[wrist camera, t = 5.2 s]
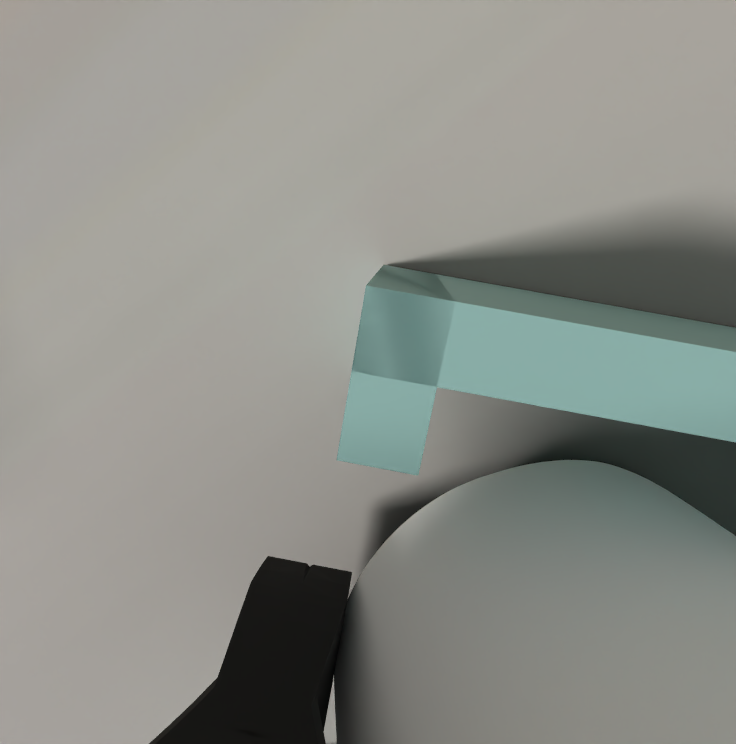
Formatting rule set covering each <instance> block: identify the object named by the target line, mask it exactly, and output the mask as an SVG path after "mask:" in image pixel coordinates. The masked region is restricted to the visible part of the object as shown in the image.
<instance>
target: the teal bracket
mask: <svg viewBox="0 0 736 744" xmlns="http://www.w3.org/2000/svg"><path fill="white" fill-rule="evenodd" d="M437 387H439V388H445V389H450V390H455V391H461V392H466V393H472V394H477V395H482V396H488V397H493V398H499V399H504V400H509V401H515V402H520V403H526V404H531V405H536V406H542V407H547V408H553V409H558V410H563V411H569V412H574V413H580V414H585V415H590V416H596V417H601V418H607V419H612V420H617V421H623V422H628V423H634V424H639V425H644V426H650V427H655V428H661V429H666V430H671V431H677V432H682V433H688V434H693V435H698V436H704V437H709V438H715V439H720V440H725V441H731V442H736V328H734V327H729V326H723V325H718V324H712V323H707V322H701V321H695V320H690V319H684V318H679V317H673V316H667V315H662V314H656V313H651V312H645V311H639V310H634V309H628V308H623V307H617V306H612V305H606V304H600V303H595V302H589V301H584V300H578V299H572V298H567V297H561V296H556V295H550V294H544V293H539V292H533V291H528V290H522V289H517V288H511V287H505V286H500V285H494V284H489V283H483V282H477V281H472V280H466V279H461V278H455V277H449V276H444V275H438V274H433V273H427V272H422V271H416V270H410V269H405V268H399V267H394V266H388V265H383V267H382V268H381V269H380V270H379V271H378V272H377V273H376V275H375V276H374V277H373V278H372V279H371V280H370V282H369V283H368V284H367V285H366V289H365V295H364V301H363V307H362V313H361V319H360V325H359V331H358V337H357V343H356V348H355V354H354V360H353V366H352V372H351V378H350V384H349V390H348V396H347V402H346V408H345V413H344V419H343V425H342V431H341V437H340V443H339V449H338V455H337V460H339V461H344V462H349V463H355V464H360V465H365V466H370V467H376V468H381V469H386V470H391V471H397V472H402V473H407V474H412V475H418V474H419V469H420V465H421V460H422V455H423V451H424V446H425V441H426V436H427V432H428V427H429V422H430V417H431V413H432V408H433V403H434V399H435V394H436V389H437Z"/></svg>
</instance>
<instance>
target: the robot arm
mask: <svg viewBox="0 0 736 744" xmlns="http://www.w3.org/2000/svg"><path fill="white" fill-rule="evenodd" d="M351 575H352V572H348V571H343V570H338V569H333V568H327V567H322V566H317V565H312V566H310V567H309V566H308V564H306V563H301V562H296V561H291V560H286V559H280V558H275V557H270V556H268V557H267V558H266V560H265V561H264V562H263V564H262V565H261V567H260V568H259V570H258V571H257V573H256V575H255V576H254V578H253V580H252V581H251V584H250V587H249V589H248V592H247V595H246V598H245V601H244V603H243V606H242V609H241V612H240V615H239V618H238V620H237V623H236V626H235V629H234V632H233V635H232V638H231V641H230V643H229V646H228V649H227V652H226V655H225V658H224V661H223V664H222V666H221V669H220V672H219V675H218V678H217V679H216V680H215V681H214V682H213V683H212V684H211V685H210V686H209V687H208V688H207V689H206V690H205V691H204V692H203V693H202V694H201V695H200V696H199V697H198V698H197V699H196V700H195V701H194V702H193V703H192V704H191V705H190V706H189V707H188V708H187V709H186V710H185V711H184V712H183V713H182V714H181V715H180V716H179V717H178V718H176V719H175V720H174V721H173V722H172V723H171V724H170V725H169V726H168V727H167V728H166V729H165V730H164V731H163V732H161V733H160V734H159V735H158V736H157V737H156V738H155V739H154V740H153V741H152V742H150V743H149V744H326V743H325V738H324V733H323V731H324V726H325V720H326V715H327V709H328V704H329V698H330V693H331V687H332V682H333V676H334V671H335V665H336V660H337V654H338V649H339V644H340V638H341V633H342V627H343V622H344V616H345V611H346V605H347V600H348V594H349V587H350V581H351Z"/></svg>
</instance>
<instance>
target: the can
mask: <svg viewBox="0 0 736 744" xmlns="http://www.w3.org/2000/svg"><path fill="white" fill-rule="evenodd" d="M334 689H335V714H336V733H337V744H736V536H735V535H734V534H732V533H731V532H729V531H728V530H726V529H725V528H723V527H722V526H720V525H719V524H717V523H716V522H714V521H713V520H712V519H710V518H709V517H707V516H706V515H704V514H703V513H701V512H700V511H698V510H697V509H695V508H694V507H692V506H691V505H689V504H688V503H686V502H685V501H683V500H682V499H680V498H678V497H677V496H675V495H674V494H672V493H671V492H669V491H668V490H666V489H664V488H663V487H661V486H659V485H657V484H655V483H654V482H652V481H650V480H648V479H646V478H644V477H642V476H640V475H637V474H635V473H633V472H630V471H628V470H625V469H623V468H620V467H617V466H614V465H610V464H606V463H601V462H596V461H586V460H557V461H547V462H539V463H533V464H528V465H522V466H518V467H514V468H510V469H506V470H502V471H499V472H495V473H492V474H489V475H486V476H483V477H480V478H477V479H475V480H472V481H470V482H467V483H465V484H463V485H460V486H458V487H456V488H454V489H452V490H450V491H448V492H446V493H445V494H443V495H441V496H440V497H438V498H436V499H435V500H433V501H432V502H430V503H429V504H427V505H426V506H424V507H423V508H422V509H420V510H419V511H417V512H416V513H415V514H414V515H412V516H411V517H410V518H409V519H408V520H406V521H405V522H404V523H403V524H402V525H401V526H400V527H399V528H398V529H397V530H396V531H395V532H394V533H393V534H392V535H391V536H390V537H389V538H388V539H387V540H386V541H385V542H384V543H383V544H382V546H381V547H380V548H379V549H378V550H377V552H376V553H375V554H374V556H373V557H372V558H371V560H370V561H369V562H368V564H367V565H366V567H365V568H364V570H363V572H362V573H361V575H360V576H359V578H358V580H357V582H356V584H355V586H354V588H353V590H352V592H351V594H350V596H349V598H348V601H347V605H346V611H345V616H344V622H343V627H342V633H341V638H340V644H339V649H338V654H337V660H336V665H335V671H334Z"/></svg>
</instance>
